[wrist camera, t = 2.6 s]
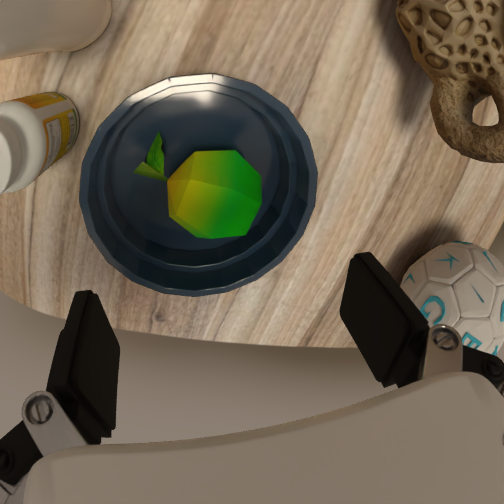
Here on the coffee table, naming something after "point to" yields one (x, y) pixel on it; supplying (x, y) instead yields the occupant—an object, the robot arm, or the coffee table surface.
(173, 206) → the apple
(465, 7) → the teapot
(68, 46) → the drinking glass
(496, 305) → the puzzle ball
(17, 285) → the coffee table surface
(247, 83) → the bowl
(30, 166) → the supplement bottle
